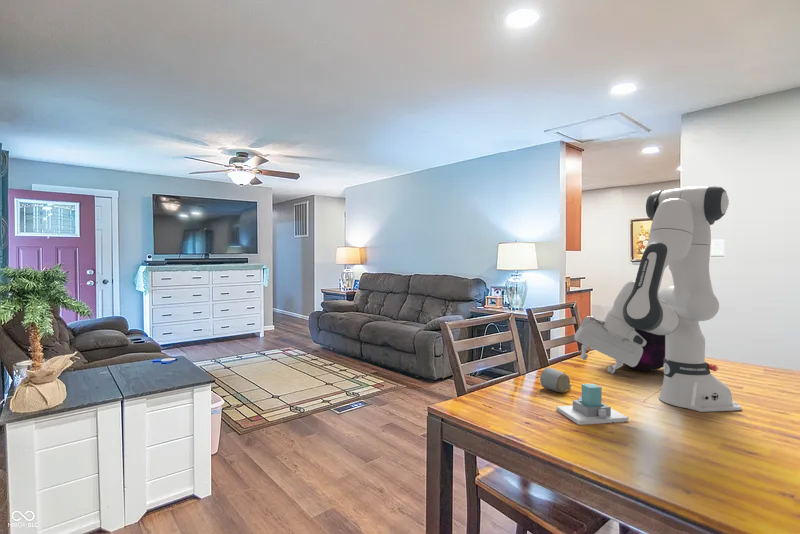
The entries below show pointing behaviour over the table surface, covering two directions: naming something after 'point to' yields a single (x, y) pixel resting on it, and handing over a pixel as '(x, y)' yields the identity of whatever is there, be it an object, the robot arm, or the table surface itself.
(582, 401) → the block
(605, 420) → the housing plate
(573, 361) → the table surface
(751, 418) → the table surface
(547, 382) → the ceramic mug
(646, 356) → the black purple ball
